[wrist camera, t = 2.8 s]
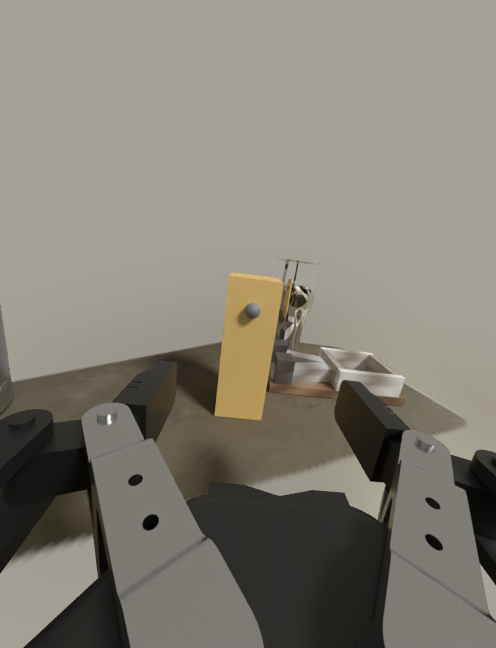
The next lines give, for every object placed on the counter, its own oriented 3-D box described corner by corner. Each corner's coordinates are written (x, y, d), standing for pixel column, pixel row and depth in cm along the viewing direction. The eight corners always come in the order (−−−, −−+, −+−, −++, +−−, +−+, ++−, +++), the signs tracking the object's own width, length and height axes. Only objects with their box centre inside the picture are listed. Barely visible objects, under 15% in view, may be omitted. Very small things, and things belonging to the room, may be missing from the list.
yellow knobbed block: (213, 420, 22) (229, 276, 19) (219, 387, 27) (232, 271, 24) (261, 424, 22) (285, 283, 19) (258, 391, 28) (276, 277, 24)
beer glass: (289, 368, 35) (310, 261, 31) (250, 353, 39) (264, 256, 35) (308, 356, 40) (327, 264, 36) (272, 343, 44) (286, 259, 40)
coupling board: (269, 391, 28) (274, 360, 27) (263, 363, 35) (267, 337, 34) (402, 406, 29) (412, 375, 28) (369, 374, 36) (376, 350, 35)
